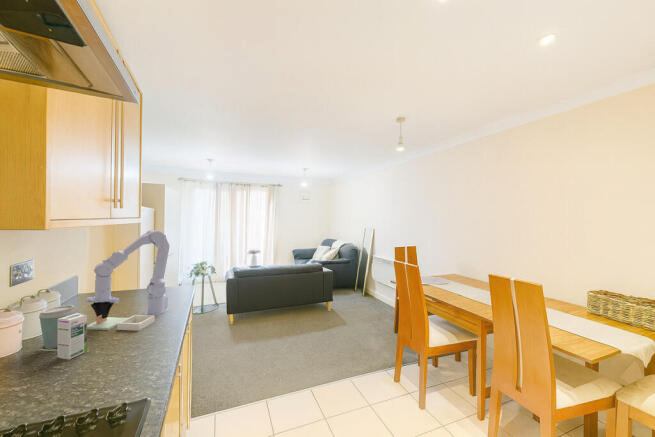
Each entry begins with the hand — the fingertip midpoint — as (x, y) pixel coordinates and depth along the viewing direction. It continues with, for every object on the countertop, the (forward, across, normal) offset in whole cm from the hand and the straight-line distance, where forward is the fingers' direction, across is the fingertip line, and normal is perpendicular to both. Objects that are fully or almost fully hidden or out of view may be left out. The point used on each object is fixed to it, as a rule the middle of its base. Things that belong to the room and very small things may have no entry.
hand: (102, 317), depth 121 cm
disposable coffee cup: (+4, 0, -19) cm, 19 cm away
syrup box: (+4, +12, -25) cm, 28 cm away
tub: (+4, +16, 0) cm, 17 cm away
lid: (+4, +2, 0) cm, 4 cm away
